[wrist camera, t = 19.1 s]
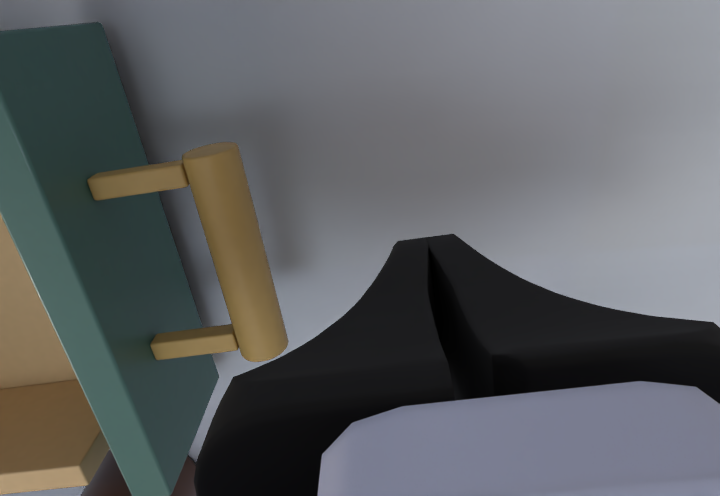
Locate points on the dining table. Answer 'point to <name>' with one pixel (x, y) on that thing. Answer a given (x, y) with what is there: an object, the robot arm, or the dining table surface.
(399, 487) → the robot arm
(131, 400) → the drawer
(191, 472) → the pepper mill
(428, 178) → the dining table surface
